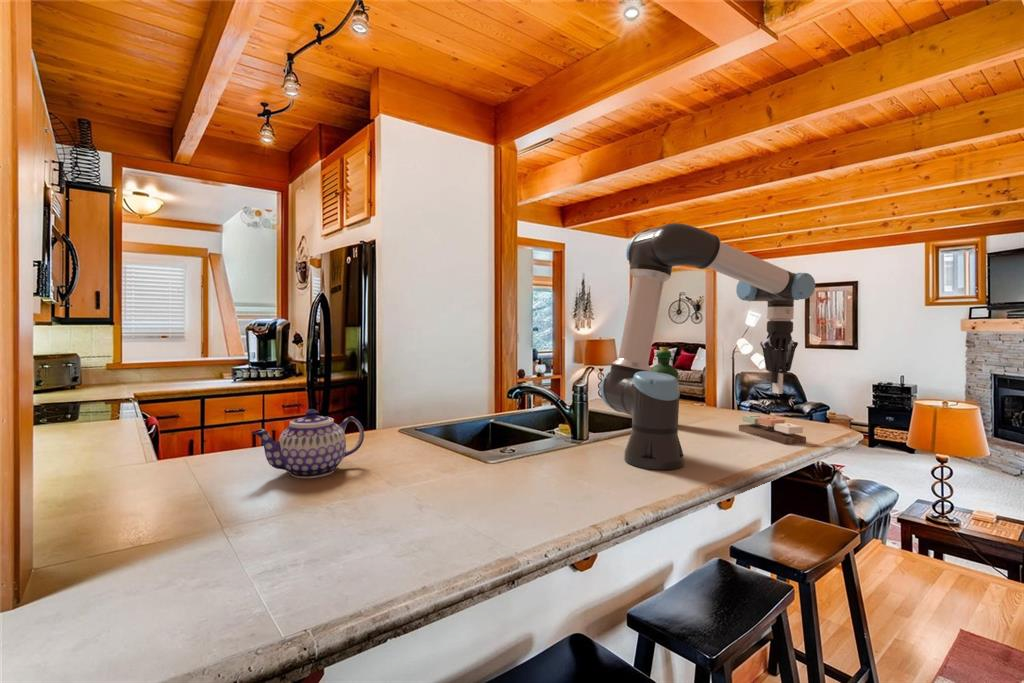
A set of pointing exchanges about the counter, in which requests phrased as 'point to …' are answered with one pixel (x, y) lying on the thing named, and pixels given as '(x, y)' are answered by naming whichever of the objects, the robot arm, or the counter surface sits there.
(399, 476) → the counter surface
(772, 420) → the terracotta tile
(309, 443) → the teapot
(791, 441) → the button board
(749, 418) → the sage tile
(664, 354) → the bottle
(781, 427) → the cream tile
